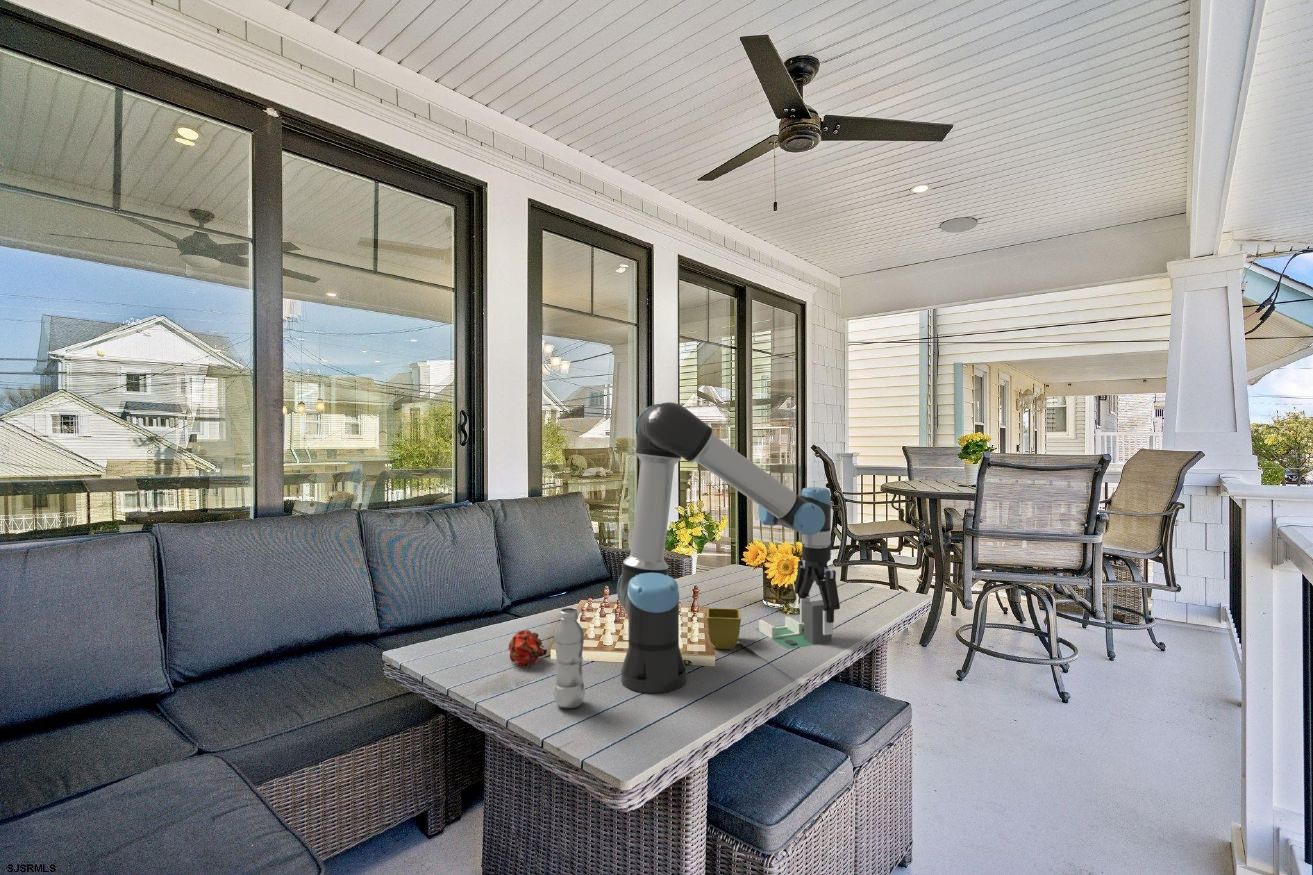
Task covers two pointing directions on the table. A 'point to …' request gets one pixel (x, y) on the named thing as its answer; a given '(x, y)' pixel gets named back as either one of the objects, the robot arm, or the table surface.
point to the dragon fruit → (526, 648)
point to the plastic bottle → (569, 660)
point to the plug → (814, 622)
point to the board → (786, 633)
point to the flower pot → (723, 627)
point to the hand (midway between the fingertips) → (816, 627)
